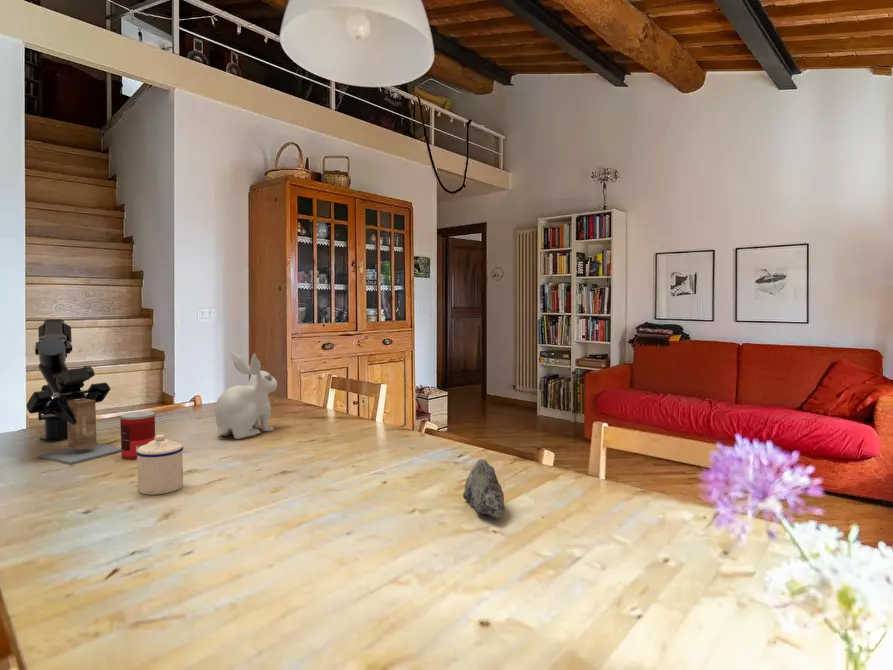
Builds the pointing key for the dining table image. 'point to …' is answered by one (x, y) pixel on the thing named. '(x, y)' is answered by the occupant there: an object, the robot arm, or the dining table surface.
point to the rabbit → (246, 401)
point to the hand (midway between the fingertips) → (84, 421)
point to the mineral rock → (484, 490)
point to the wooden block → (82, 424)
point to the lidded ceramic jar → (160, 466)
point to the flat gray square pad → (80, 453)
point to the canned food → (136, 432)
